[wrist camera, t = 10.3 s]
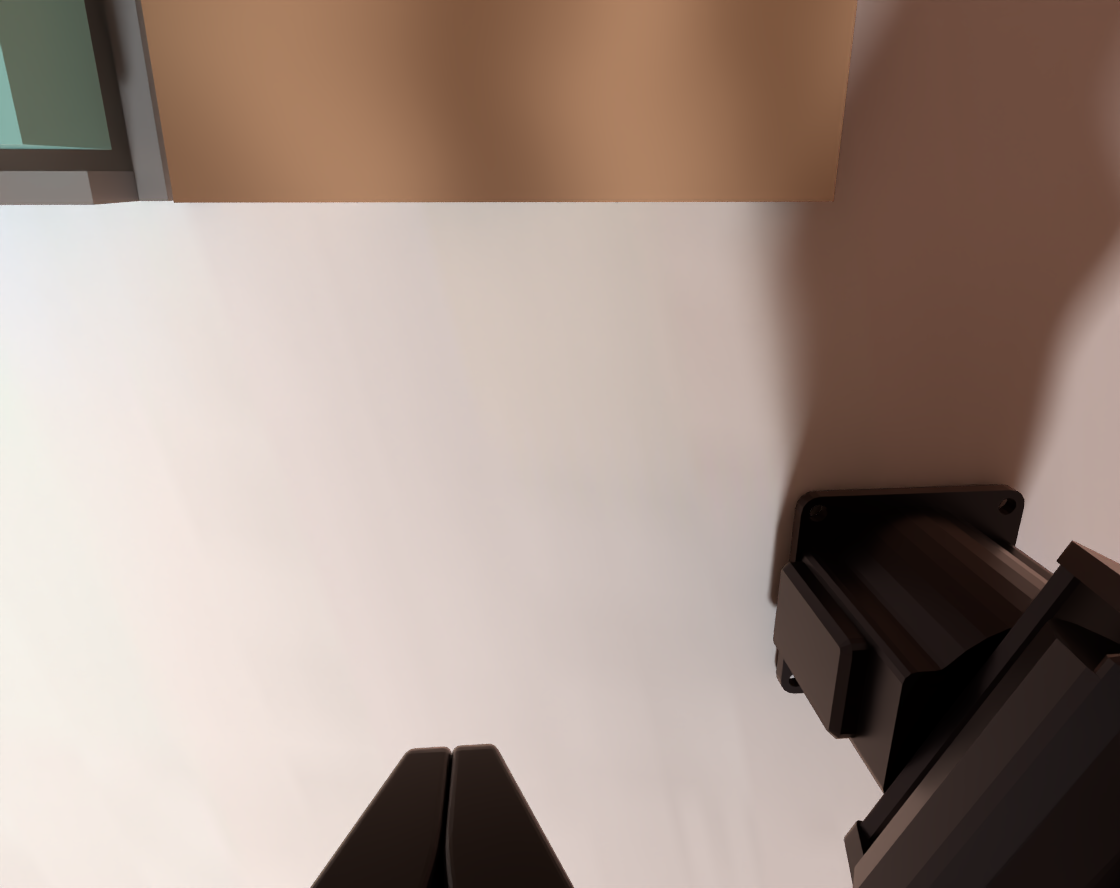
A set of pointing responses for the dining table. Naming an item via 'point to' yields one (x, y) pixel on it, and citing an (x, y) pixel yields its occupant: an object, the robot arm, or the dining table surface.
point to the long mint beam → (49, 78)
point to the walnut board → (501, 99)
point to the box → (130, 121)
